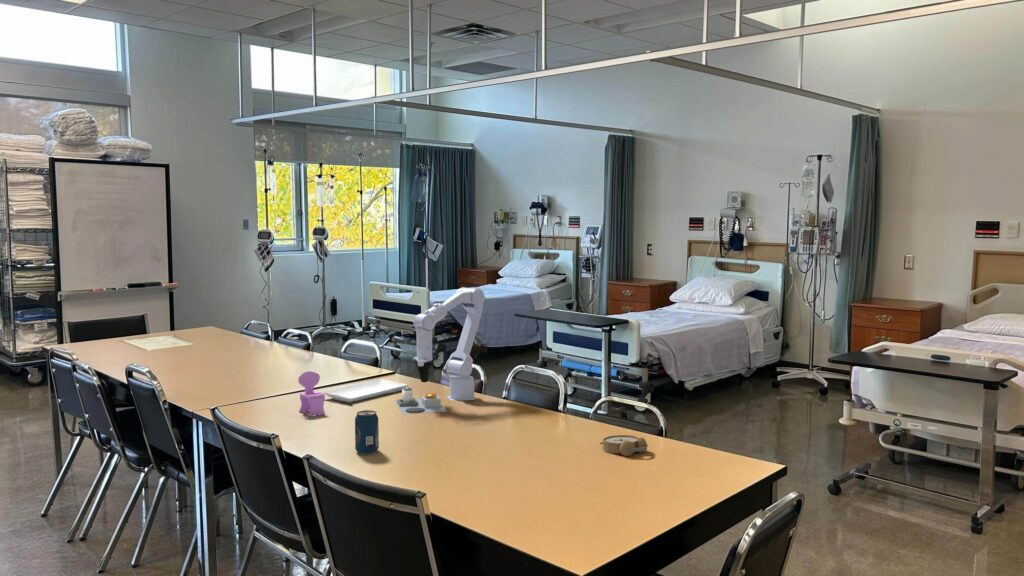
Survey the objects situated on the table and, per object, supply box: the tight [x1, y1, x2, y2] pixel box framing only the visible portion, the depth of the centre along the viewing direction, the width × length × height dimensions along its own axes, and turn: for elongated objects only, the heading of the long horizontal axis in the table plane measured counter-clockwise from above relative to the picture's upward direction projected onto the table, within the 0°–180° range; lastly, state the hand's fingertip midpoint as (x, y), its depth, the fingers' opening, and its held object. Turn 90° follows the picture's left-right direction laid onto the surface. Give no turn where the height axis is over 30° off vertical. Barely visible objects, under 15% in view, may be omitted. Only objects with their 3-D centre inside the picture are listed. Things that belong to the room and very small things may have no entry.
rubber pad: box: [406, 408, 425, 414], centre depth 271 cm, size 7×7×1 cm
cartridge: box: [401, 386, 414, 403], centre depth 281 cm, size 4×4×6 cm
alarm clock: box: [599, 434, 649, 457], centre depth 225 cm, size 11×5×15 cm
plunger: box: [424, 392, 438, 399], centre depth 278 cm, size 4×4×4 cm
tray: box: [322, 378, 409, 404], centre depth 298 cm, size 17×31×4 cm, turn 143°
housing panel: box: [394, 395, 448, 415], centre depth 278 cm, size 16×22×4 cm
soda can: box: [354, 409, 380, 456], centre depth 223 cm, size 7×7×12 cm
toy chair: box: [297, 370, 326, 417], centre depth 268 cm, size 8×9×15 cm
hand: (424, 382), depth 278 cm, fingers closed
